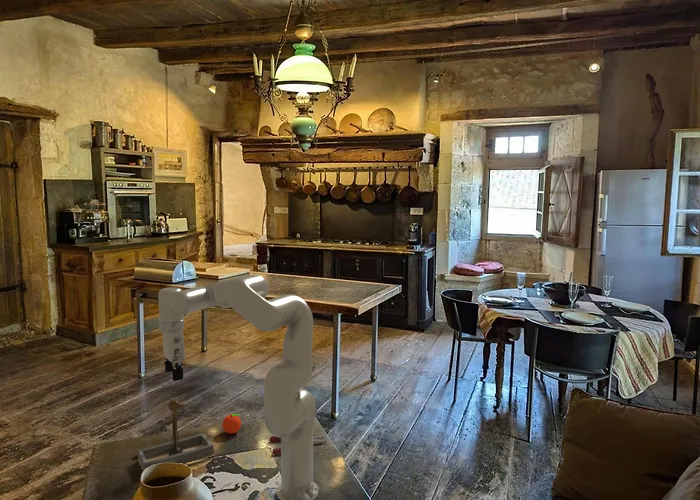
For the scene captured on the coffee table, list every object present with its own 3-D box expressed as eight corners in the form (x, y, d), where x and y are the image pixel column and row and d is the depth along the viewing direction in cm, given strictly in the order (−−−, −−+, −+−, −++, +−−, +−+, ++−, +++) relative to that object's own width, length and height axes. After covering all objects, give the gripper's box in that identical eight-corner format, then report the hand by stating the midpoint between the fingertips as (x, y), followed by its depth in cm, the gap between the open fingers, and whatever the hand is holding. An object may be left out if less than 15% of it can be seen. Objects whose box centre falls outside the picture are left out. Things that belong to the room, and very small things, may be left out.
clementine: (239, 426, 192) (239, 408, 191) (247, 432, 186) (246, 414, 185) (219, 431, 187) (219, 413, 186) (226, 438, 181) (226, 420, 181)
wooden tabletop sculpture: (188, 453, 169) (186, 397, 166) (182, 461, 164) (180, 403, 162) (172, 453, 169) (170, 396, 167) (165, 460, 165) (163, 402, 162)
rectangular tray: (214, 457, 168) (214, 446, 168) (146, 477, 156) (145, 465, 156) (203, 443, 178) (203, 432, 178) (138, 460, 166) (137, 449, 166)
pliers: (329, 450, 174) (329, 443, 174) (272, 457, 169) (272, 450, 169) (323, 435, 186) (323, 428, 185) (269, 442, 180) (269, 435, 180)
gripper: (191, 329, 157) (193, 381, 159) (176, 318, 171) (178, 366, 173) (166, 332, 153) (169, 386, 155) (154, 321, 167) (156, 370, 169)
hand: (174, 375), depth 164 cm, fingers open, 9 cm apart
